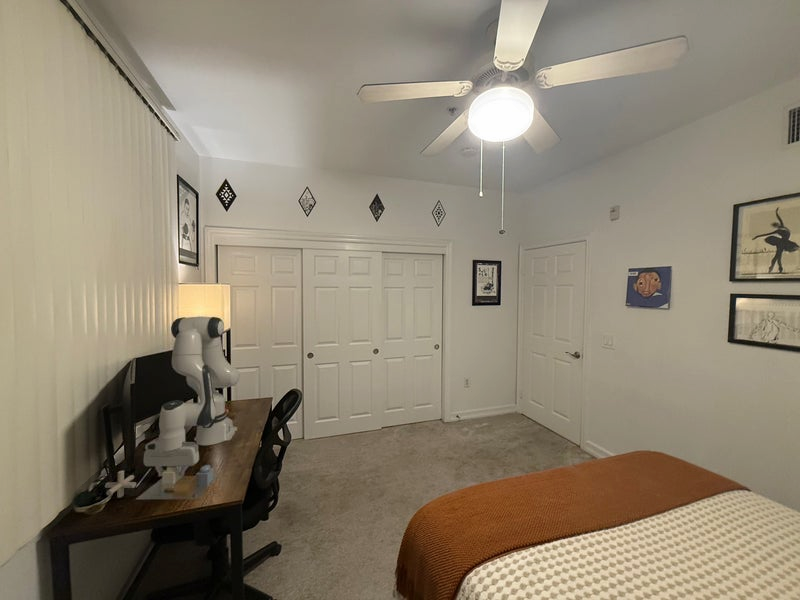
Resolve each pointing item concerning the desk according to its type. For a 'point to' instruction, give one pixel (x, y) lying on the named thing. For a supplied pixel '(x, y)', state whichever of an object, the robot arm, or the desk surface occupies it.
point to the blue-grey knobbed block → (205, 475)
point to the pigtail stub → (184, 486)
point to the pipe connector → (120, 484)
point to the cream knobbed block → (170, 475)
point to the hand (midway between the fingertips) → (171, 475)
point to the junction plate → (159, 492)
